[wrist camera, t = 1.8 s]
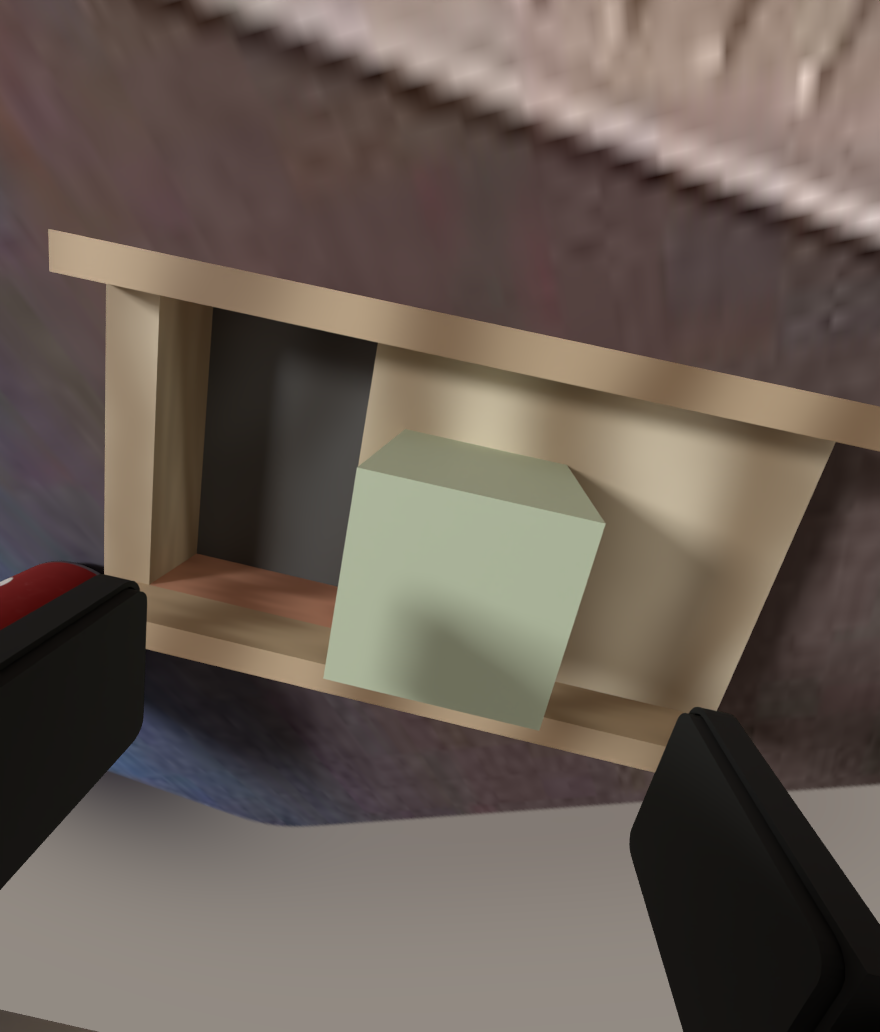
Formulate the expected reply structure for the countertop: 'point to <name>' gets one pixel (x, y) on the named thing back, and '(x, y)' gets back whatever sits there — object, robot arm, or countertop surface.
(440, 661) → the sage block
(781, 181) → the countertop surface
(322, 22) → the countertop surface
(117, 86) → the countertop surface
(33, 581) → the soda can
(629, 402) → the channel track
